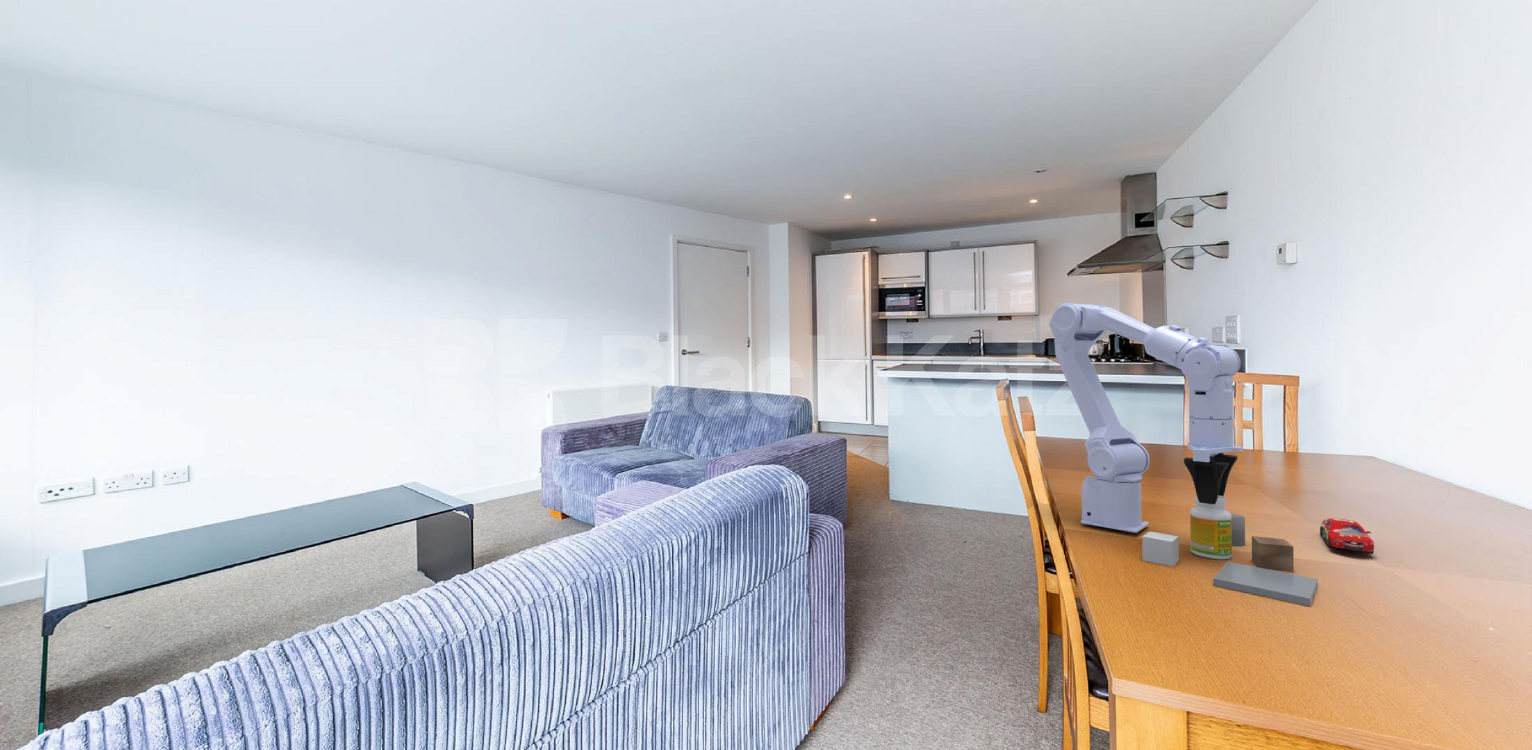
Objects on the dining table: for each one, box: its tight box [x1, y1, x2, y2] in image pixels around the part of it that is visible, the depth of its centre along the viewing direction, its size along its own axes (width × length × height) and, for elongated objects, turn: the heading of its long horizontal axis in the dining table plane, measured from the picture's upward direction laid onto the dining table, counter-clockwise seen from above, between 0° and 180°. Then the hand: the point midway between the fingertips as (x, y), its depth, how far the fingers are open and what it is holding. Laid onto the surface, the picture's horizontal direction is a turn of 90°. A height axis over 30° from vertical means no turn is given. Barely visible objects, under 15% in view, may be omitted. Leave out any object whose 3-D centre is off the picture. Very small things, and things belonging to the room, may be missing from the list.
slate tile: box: [1212, 561, 1319, 607], centre depth 81 cm, size 10×10×1 cm
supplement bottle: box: [1189, 493, 1233, 560], centre depth 94 cm, size 5×5×10 cm
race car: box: [1319, 518, 1375, 555], centre depth 96 cm, size 13×5×4 cm, turn 141°
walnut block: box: [1251, 535, 1295, 573], centre depth 88 cm, size 4×4×4 cm
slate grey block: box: [1230, 513, 1246, 547], centre depth 99 cm, size 4×4×5 cm
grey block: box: [1141, 531, 1180, 567], centre depth 92 cm, size 4×4×4 cm
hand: (1211, 500), depth 94 cm, fingers open, 5 cm apart
